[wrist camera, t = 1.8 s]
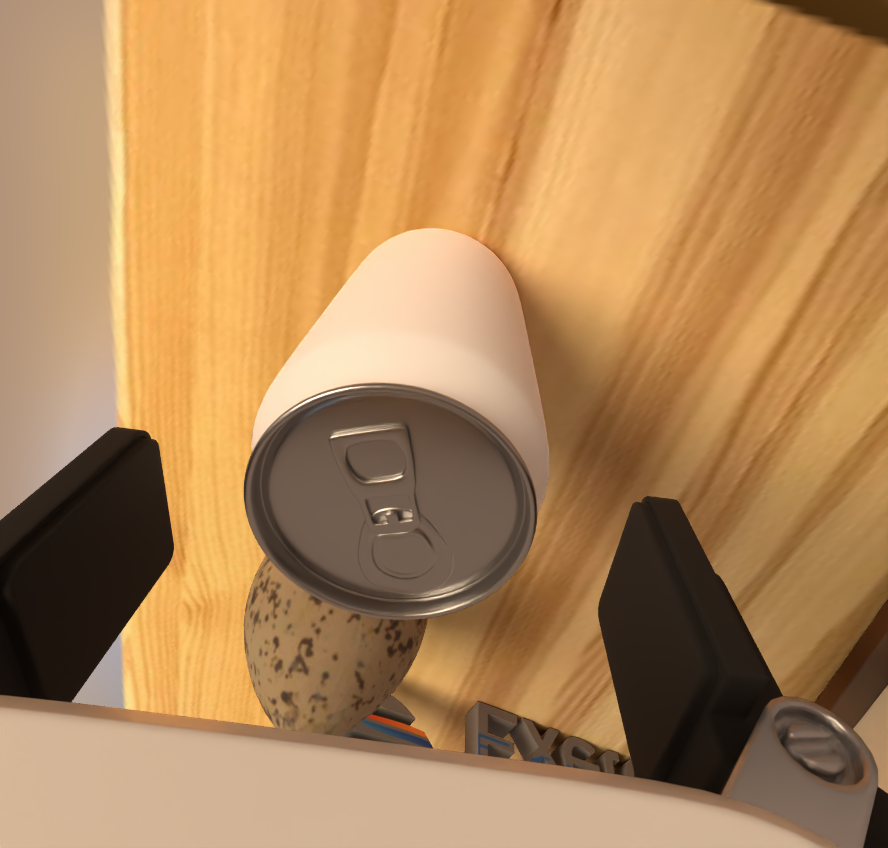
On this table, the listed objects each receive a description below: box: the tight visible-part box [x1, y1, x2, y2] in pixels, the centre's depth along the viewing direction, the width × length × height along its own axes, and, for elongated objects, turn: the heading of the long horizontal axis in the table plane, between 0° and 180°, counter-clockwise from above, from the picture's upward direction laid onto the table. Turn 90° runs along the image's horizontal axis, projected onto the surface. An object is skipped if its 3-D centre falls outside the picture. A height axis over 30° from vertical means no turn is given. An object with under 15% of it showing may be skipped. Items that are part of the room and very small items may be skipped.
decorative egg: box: [244, 556, 428, 736], centre depth 22 cm, size 7×7×10 cm
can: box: [244, 228, 549, 620], centre depth 16 cm, size 6×6×12 cm
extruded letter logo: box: [341, 695, 635, 777], centre depth 31 cm, size 25×2×6 cm, turn 63°
